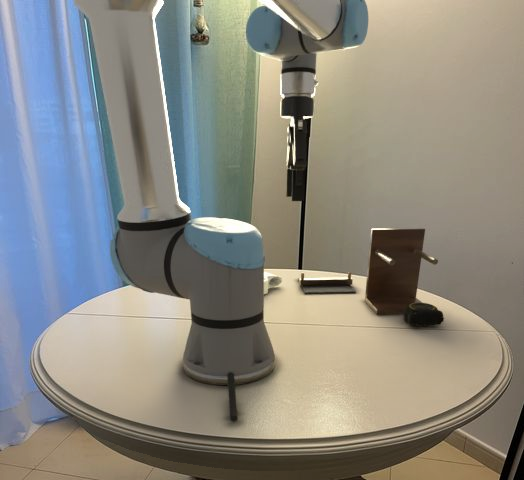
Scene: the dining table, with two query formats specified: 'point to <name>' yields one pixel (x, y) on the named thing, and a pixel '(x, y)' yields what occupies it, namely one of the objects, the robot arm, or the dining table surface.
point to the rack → (394, 268)
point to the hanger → (325, 281)
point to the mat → (327, 289)
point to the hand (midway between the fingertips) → (294, 198)
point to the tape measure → (422, 314)
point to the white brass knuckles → (271, 281)
